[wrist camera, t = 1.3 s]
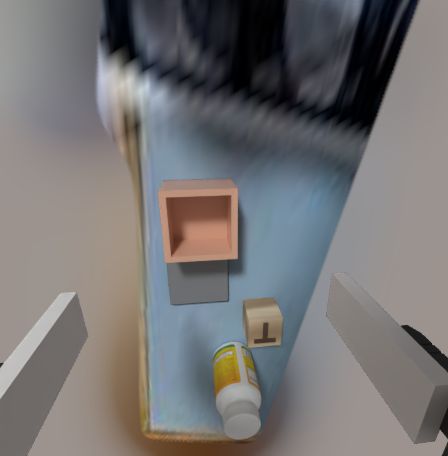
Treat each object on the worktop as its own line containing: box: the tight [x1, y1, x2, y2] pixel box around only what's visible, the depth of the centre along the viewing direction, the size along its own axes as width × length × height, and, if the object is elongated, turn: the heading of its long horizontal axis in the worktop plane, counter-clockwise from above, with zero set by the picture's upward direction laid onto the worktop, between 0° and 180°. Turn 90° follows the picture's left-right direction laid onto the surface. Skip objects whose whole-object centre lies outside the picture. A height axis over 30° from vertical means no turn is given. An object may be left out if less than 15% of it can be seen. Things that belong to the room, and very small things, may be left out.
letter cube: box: [243, 298, 283, 348], centre depth 33 cm, size 4×4×4 cm
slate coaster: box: [167, 259, 228, 305], centre depth 32 cm, size 7×7×1 cm
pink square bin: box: [158, 178, 238, 263], centre depth 27 cm, size 7×7×5 cm
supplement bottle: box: [213, 342, 261, 440], centre depth 33 cm, size 5×5×10 cm
